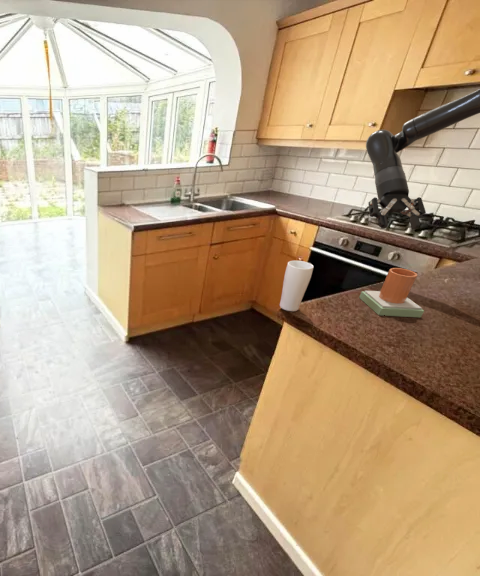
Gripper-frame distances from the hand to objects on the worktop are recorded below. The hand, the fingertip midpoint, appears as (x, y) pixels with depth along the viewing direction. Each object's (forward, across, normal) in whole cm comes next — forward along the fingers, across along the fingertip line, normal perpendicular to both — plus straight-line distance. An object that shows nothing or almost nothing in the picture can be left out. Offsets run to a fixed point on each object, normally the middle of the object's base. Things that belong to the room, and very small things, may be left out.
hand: (400, 227), depth 102 cm
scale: (+25, -4, +6) cm, 26 cm away
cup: (+23, -4, +3) cm, 23 cm away
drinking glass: (+28, -34, +3) cm, 44 cm away
